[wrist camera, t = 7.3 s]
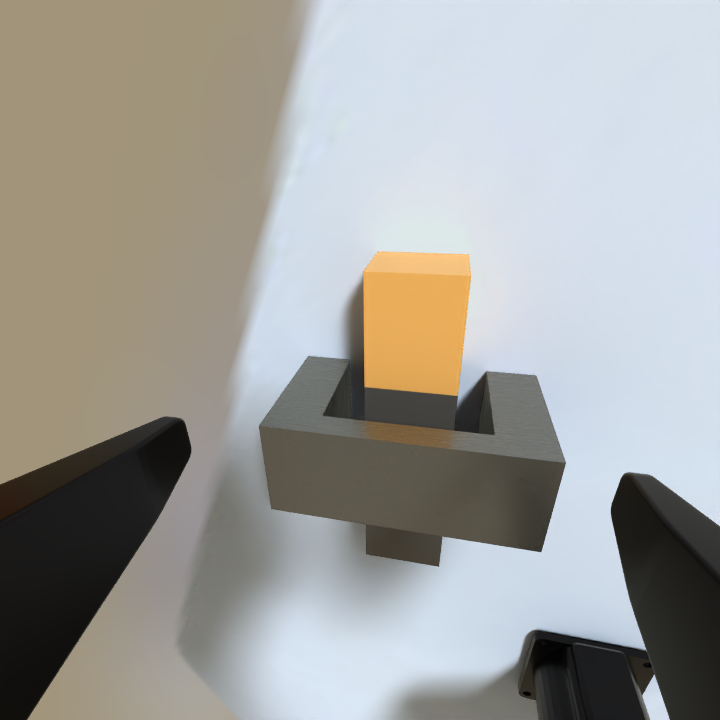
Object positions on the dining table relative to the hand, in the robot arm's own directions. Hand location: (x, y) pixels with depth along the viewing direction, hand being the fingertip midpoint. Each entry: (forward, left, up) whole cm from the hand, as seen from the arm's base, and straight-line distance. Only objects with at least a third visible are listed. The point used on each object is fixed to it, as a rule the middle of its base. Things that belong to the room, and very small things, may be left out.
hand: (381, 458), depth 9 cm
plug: (-5, 0, -10) cm, 11 cm away
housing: (-5, 0, -10) cm, 11 cm away
